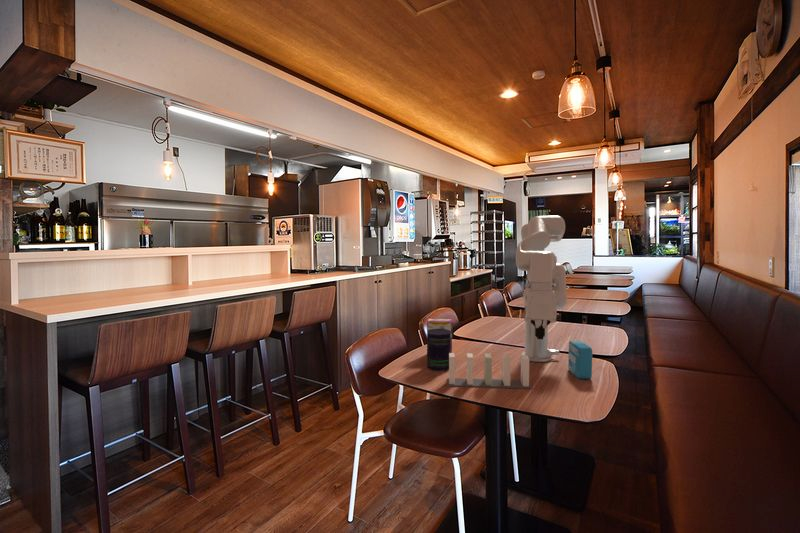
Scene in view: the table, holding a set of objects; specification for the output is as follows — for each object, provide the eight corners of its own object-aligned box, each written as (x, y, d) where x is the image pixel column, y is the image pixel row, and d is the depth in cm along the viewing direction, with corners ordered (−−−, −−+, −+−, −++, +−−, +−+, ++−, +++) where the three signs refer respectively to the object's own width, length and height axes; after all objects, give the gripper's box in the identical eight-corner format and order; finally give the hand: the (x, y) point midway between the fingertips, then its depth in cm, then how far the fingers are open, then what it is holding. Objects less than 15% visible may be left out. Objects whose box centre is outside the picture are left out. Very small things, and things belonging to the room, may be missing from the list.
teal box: (568, 369, 162) (568, 339, 161) (579, 369, 162) (580, 339, 161) (579, 380, 150) (580, 348, 149) (591, 380, 150) (592, 348, 149)
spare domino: (489, 380, 150) (490, 353, 149) (491, 385, 145) (491, 357, 144) (484, 380, 150) (484, 353, 149) (485, 385, 145) (485, 357, 144)
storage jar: (447, 372, 160) (447, 335, 159) (423, 369, 163) (423, 333, 162) (453, 364, 169) (453, 329, 168) (430, 362, 173) (430, 328, 171)
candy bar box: (426, 357, 180) (426, 320, 179) (427, 354, 185) (427, 318, 184) (452, 357, 179) (452, 321, 178) (451, 354, 184) (451, 318, 183)
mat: (527, 381, 149) (527, 380, 149) (531, 388, 142) (531, 387, 142) (446, 379, 153) (446, 378, 153) (447, 386, 145) (447, 385, 145)
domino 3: (508, 380, 149) (508, 354, 148) (510, 385, 144) (510, 358, 143) (502, 380, 149) (502, 354, 148) (504, 385, 144) (504, 358, 143)
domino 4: (526, 381, 148) (526, 354, 147) (528, 386, 143) (529, 358, 142) (520, 381, 148) (520, 354, 148) (523, 386, 143) (523, 358, 143)
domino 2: (472, 379, 150) (472, 353, 150) (473, 384, 145) (473, 357, 145) (466, 379, 151) (466, 353, 150) (467, 384, 146) (467, 357, 145)
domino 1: (454, 379, 151) (454, 353, 150) (454, 384, 146) (454, 357, 145) (449, 379, 151) (449, 352, 151) (449, 384, 146) (449, 356, 146)
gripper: (520, 288, 140) (520, 340, 141) (565, 288, 138) (564, 341, 139) (517, 285, 147) (516, 335, 148) (559, 286, 145) (558, 336, 146)
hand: (539, 338), depth 143 cm, fingers closed
